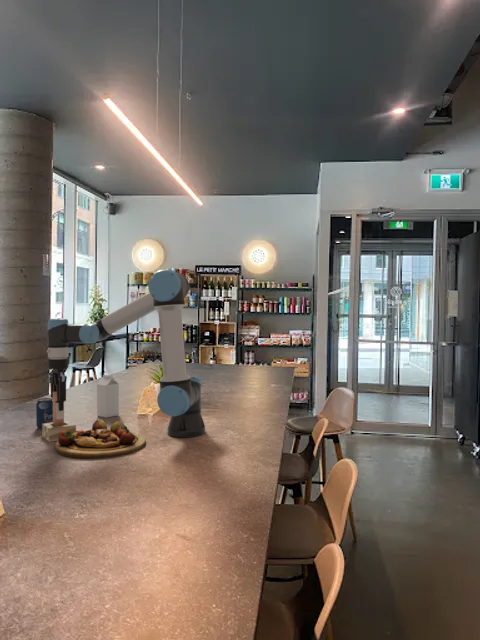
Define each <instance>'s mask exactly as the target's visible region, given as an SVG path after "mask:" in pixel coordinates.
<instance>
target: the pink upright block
mask: <svg viewBox="0 0 480 640" xmlns="http://www.w3.org/2000/svg"><path fill="white" fill-rule="evenodd" d="M52 401H53V427H56V426H62V425H64V421H65V418H64V419H56V402H55V401H57V391H56V392H53V399H52Z"/></svg>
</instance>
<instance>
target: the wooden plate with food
mask: <svg viewBox="0 0 480 640" xmlns="http://www.w3.org/2000/svg"><path fill="white" fill-rule="evenodd" d="M146 440H147V439H146V437H145V436H143V434H142V435H141V434H140V433H136V432H133V431H130V429H128V427H127V426H126V425H125V424H124V423H123V422H121V421H119V420H117V421H115V422H114V423H112V424H111V426H110V428H109V429H108V426H107V424H106V422H105V421H104V420H102V419H100V418H98V419H96V420H95V421H94V422H93V424H92V426H91V429H87V430H83V429H81V430H80V429H78V430H76V431H75V432H74V433H72V432H70V431H64V430H63V431H61V432H60V434H59V439H58V441H55V442H56V443H55V445H54V449H55V451H56V452H57V453H59V454H60V455H62V456H65V457H69V458H75V459H89V460H90V459H92V460H93V459H106V458H107V459H108V458H116V457H121V456H125V455H130V454H132V453H134V452H138V451H140V450H141V449H143V448H144V447H145V446H146V444H147V441H146Z"/></svg>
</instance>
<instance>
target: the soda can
mask: <svg viewBox="0 0 480 640" xmlns="http://www.w3.org/2000/svg"><path fill="white" fill-rule="evenodd" d="M35 406H36V410H35V411H36V415H35V417H36V428H37V429H39V430H42V424H44V423H52V422H53V399H52V398H51V397H49V398H47V397H45V398H39V399H37V402H36V405H35Z"/></svg>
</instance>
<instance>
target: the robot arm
mask: <svg viewBox="0 0 480 640" xmlns="http://www.w3.org/2000/svg"><path fill="white" fill-rule="evenodd" d="M189 291H190V282H189V280H188V278H187V276H186V275H184V274H182V272H178V271H174V270H173V269H172V270H171V269H160V270H158V271H155V273H154V274H153V275H151V276H150V279H149V281H148V292H147V293H145V294H143V295H142V296H140V297H138V298H136V299H134V300H133V301H131V302H129V303H127V304H126V305H124V306H122V307H120V308H118V309H117V310H115V311H113V312H111V313H110V314H108V315H106V316H103V317H102V318H101V319H98V320H97V321H95V322H93V323H92V322H91V323H69V320H68V318H49V319H48V322H47V329H46V330H47V350H46V353H47V358H48V359H47V368H48V369H49V370H52V372H50V374H49V376H50V398H51V399H52V400H53V392H56V391H57V401H55V402H56V419H64V420H65V402H66V401H67V381H68V380H67V379H68V377H67V375H66V374H65V372H64V371H65V369H68V367H69V358H68V357H69V344H85V345H88V344H89V345H90V344H95V343H97V342H101V341H104V340H106V339H108V337H110V336H111V335H112V334H114V333H117V332H118V331H119V330H122V329H123V328H125V327H127V326H129V325H130V324H132V323H135V322H136V321H138V320H141V319H142V318H144V317H145V316H147V315H149V314H151V313H153V312H155V311H157V313H158V324H159V325H158V326H159V336H160V337H159V338H160V350H161V363H162V374H163V375H162V377H160V379H159V392H158V395H157V397H156V402H157V405H158V408H159V410H160V411H161V412H162V413H163V414H165V415H167V416H169V417H170V420H169V423H168V426H167V434H168V436H171V437H174V438H195V437H200V436H203V435H204V434H206V424H205V421H204V418H203V417H202V416H203V415H202V403H201V402H202V391H201V390H202V388H201V387H202V383H201V382H202V381H201V377H199V376H192V375H191V376H190V375H189V374H187V365H186V355H185V354H186V353H185V340H184V339H185V338H184V329H183V314H182V313H183V312H182V310H183V308H184V307H185V306H186V303H185V302H186V301H185V298H186V297H187V295H188V294H189Z"/></svg>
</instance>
